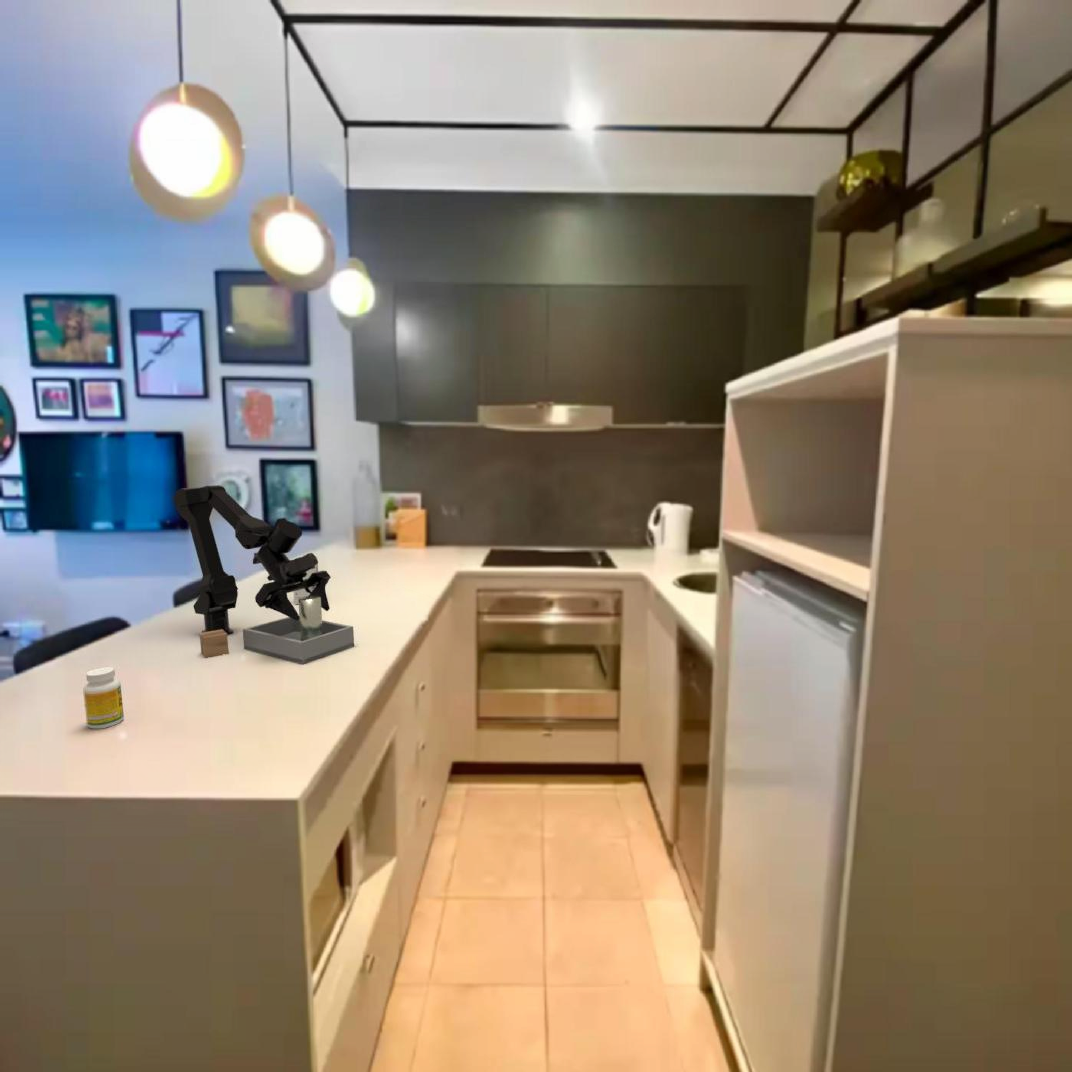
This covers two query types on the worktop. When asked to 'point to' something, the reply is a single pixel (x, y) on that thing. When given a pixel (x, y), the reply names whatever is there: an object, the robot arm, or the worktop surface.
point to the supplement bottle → (103, 699)
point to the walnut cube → (214, 643)
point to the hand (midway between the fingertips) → (313, 614)
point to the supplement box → (303, 592)
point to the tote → (297, 640)
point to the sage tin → (310, 617)
